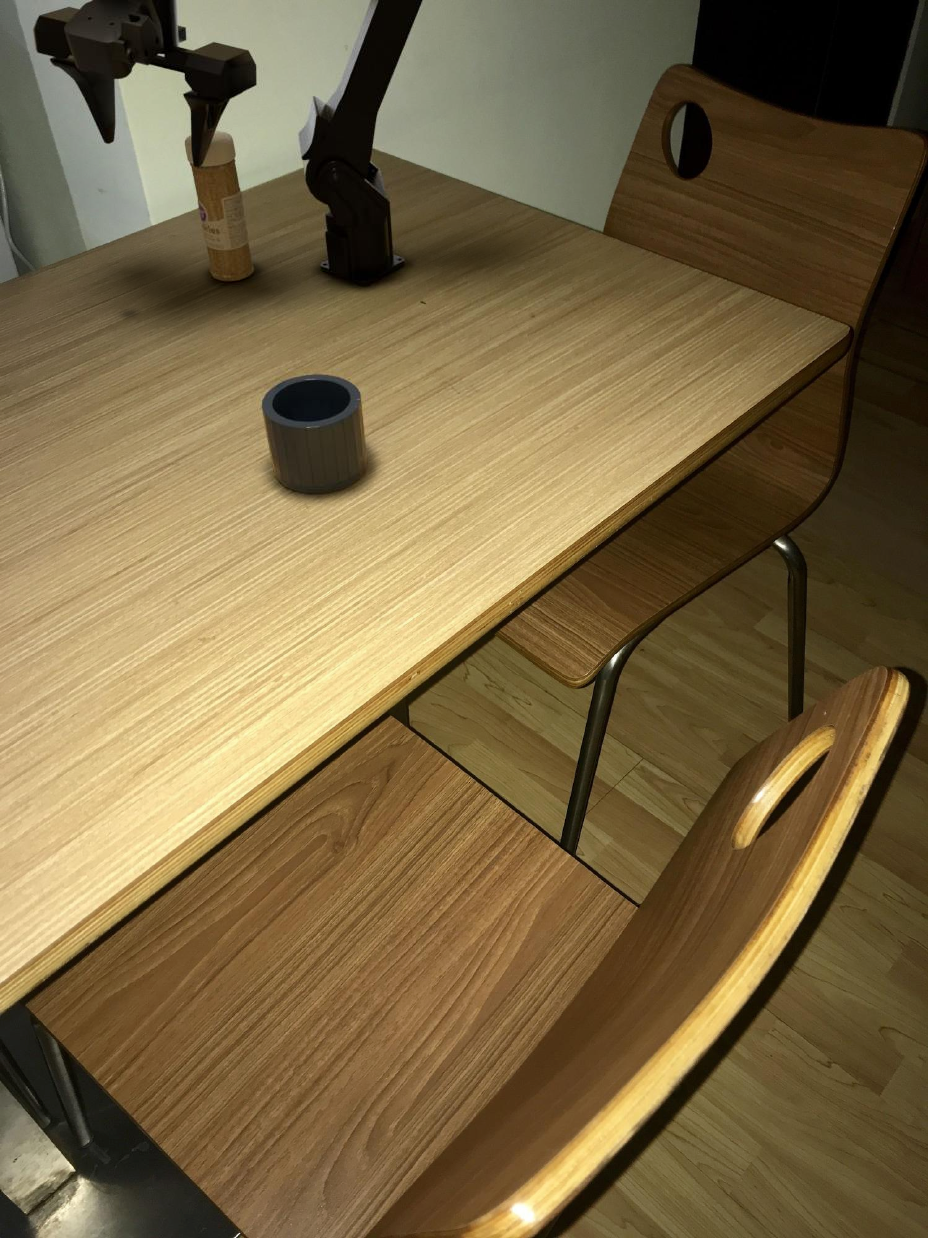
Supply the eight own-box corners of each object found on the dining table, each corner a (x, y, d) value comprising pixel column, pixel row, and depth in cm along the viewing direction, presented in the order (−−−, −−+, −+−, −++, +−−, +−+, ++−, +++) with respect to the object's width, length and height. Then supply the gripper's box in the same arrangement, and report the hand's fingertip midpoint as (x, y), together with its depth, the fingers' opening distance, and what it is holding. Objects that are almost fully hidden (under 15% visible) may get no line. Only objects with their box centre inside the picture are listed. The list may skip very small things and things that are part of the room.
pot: (319, 428, 82) (310, 363, 78) (386, 460, 79) (381, 394, 75) (254, 470, 78) (241, 405, 74) (321, 506, 75) (312, 439, 71)
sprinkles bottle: (202, 274, 103) (173, 138, 93) (236, 259, 105) (211, 124, 96) (231, 287, 101) (204, 148, 91) (264, 271, 103) (242, 135, 94)
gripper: (-25, -54, 77) (10, 154, 88) (192, -2, 75) (201, 205, 85) (60, -71, 86) (83, 122, 96) (258, -25, 83) (259, 168, 94)
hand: (153, 153), depth 93 cm, fingers open, 9 cm apart
